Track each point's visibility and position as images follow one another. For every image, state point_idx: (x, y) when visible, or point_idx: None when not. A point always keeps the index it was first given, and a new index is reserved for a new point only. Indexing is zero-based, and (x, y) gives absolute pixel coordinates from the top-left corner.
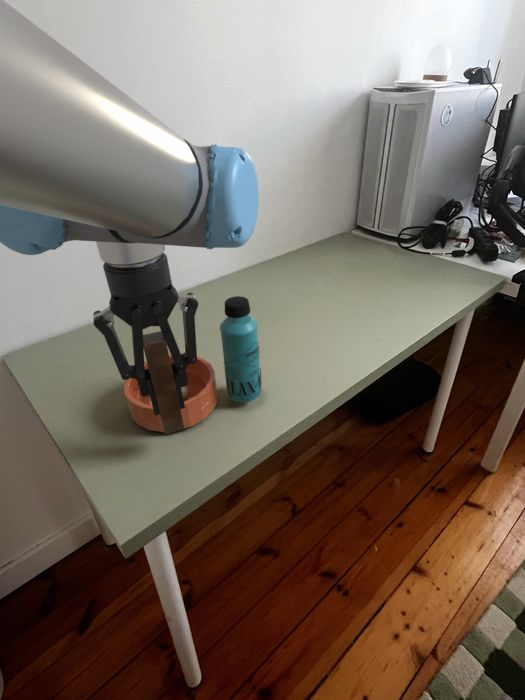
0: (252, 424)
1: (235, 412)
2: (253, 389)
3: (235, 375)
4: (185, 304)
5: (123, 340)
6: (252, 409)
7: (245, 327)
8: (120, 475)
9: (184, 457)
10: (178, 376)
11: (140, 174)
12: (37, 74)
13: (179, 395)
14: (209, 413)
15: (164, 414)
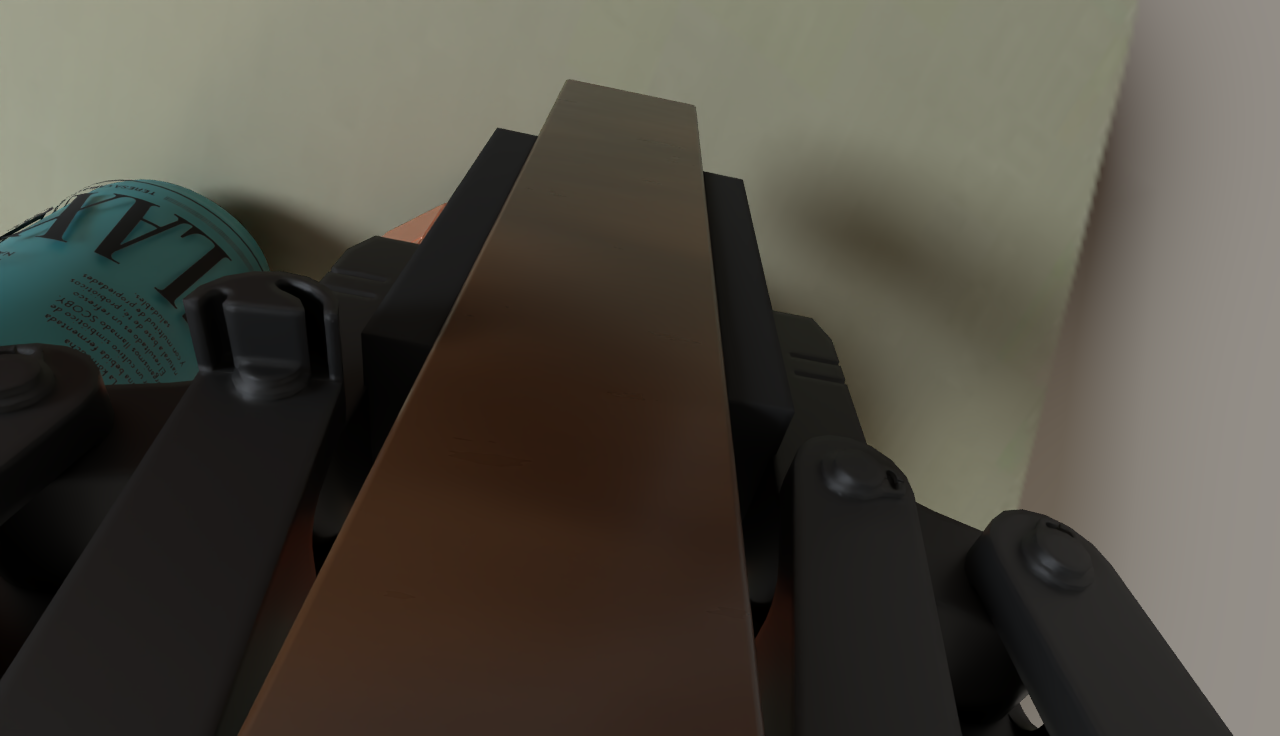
0: (194, 32)
1: (276, 176)
2: (72, 204)
3: (97, 305)
4: None
5: None
6: (178, 145)
7: None
8: (954, 93)
9: (626, 15)
10: (386, 300)
11: None
12: None
13: (491, 189)
14: (403, 224)
15: (671, 155)
